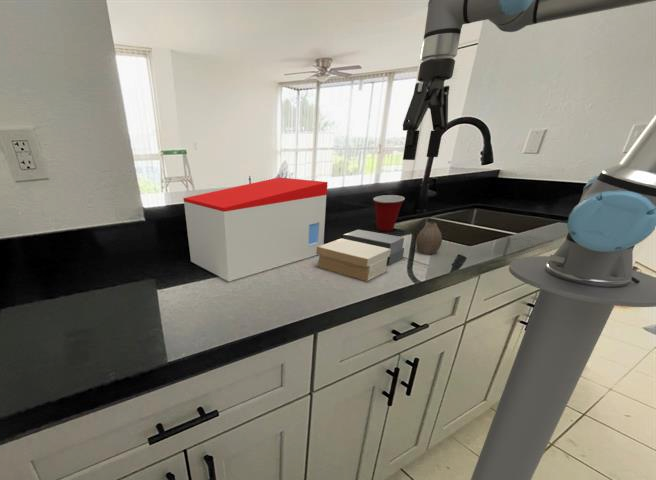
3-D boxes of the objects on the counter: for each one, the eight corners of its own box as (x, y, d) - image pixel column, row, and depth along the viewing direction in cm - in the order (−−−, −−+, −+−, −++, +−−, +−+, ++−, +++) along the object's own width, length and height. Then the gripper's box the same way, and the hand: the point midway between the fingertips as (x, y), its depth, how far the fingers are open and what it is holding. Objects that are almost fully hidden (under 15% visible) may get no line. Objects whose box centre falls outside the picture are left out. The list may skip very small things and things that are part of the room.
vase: (427, 257, 97) (433, 227, 94) (409, 250, 103) (413, 222, 99) (444, 253, 100) (451, 224, 96) (426, 247, 105) (431, 219, 102)
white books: (385, 272, 87) (387, 257, 86) (367, 281, 82) (368, 266, 80) (337, 259, 98) (338, 246, 96) (318, 266, 92) (318, 253, 91)
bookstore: (323, 252, 103) (328, 181, 94) (228, 281, 84) (222, 196, 76) (279, 239, 118) (279, 177, 109) (190, 261, 99) (182, 188, 91)
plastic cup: (363, 229, 128) (367, 197, 123) (380, 225, 134) (384, 194, 129) (388, 234, 120) (393, 200, 115) (405, 229, 126) (411, 197, 121)
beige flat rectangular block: (389, 256, 87) (391, 248, 86) (366, 267, 80) (367, 259, 79) (341, 245, 97) (341, 238, 96) (316, 253, 90) (316, 246, 89)
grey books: (403, 258, 97) (406, 237, 95) (388, 265, 92) (391, 244, 89) (357, 247, 108) (359, 229, 105) (341, 253, 102) (343, 234, 100)
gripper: (442, 68, 88) (427, 155, 97) (396, 56, 73) (383, 160, 82) (474, 63, 83) (454, 156, 92) (431, 49, 68) (413, 161, 77)
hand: (420, 158), depth 87 cm, fingers open, 13 cm apart
